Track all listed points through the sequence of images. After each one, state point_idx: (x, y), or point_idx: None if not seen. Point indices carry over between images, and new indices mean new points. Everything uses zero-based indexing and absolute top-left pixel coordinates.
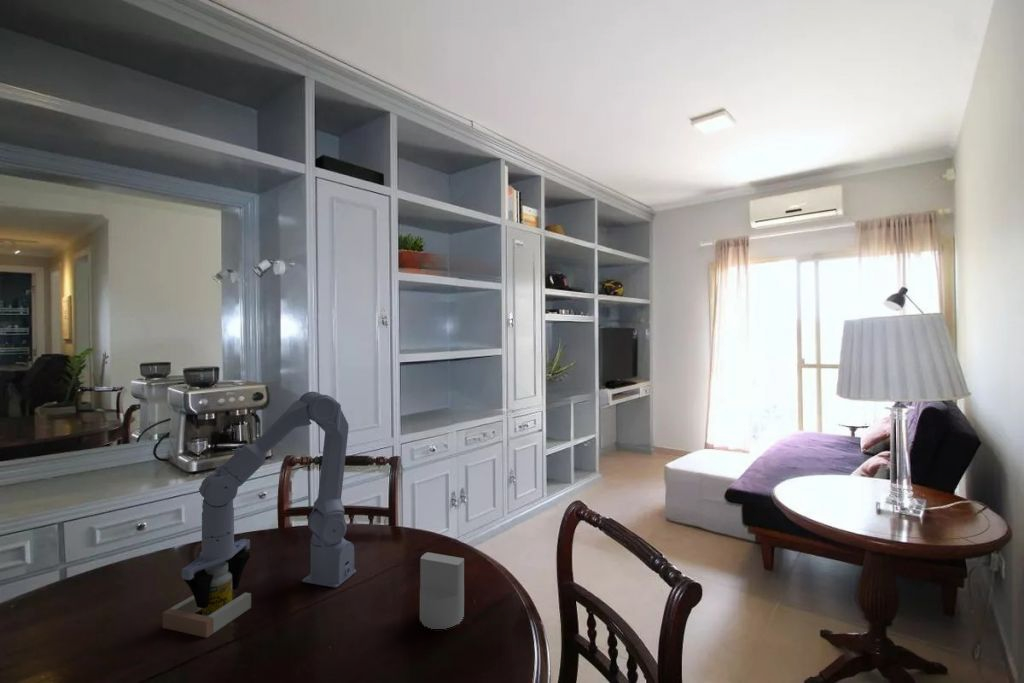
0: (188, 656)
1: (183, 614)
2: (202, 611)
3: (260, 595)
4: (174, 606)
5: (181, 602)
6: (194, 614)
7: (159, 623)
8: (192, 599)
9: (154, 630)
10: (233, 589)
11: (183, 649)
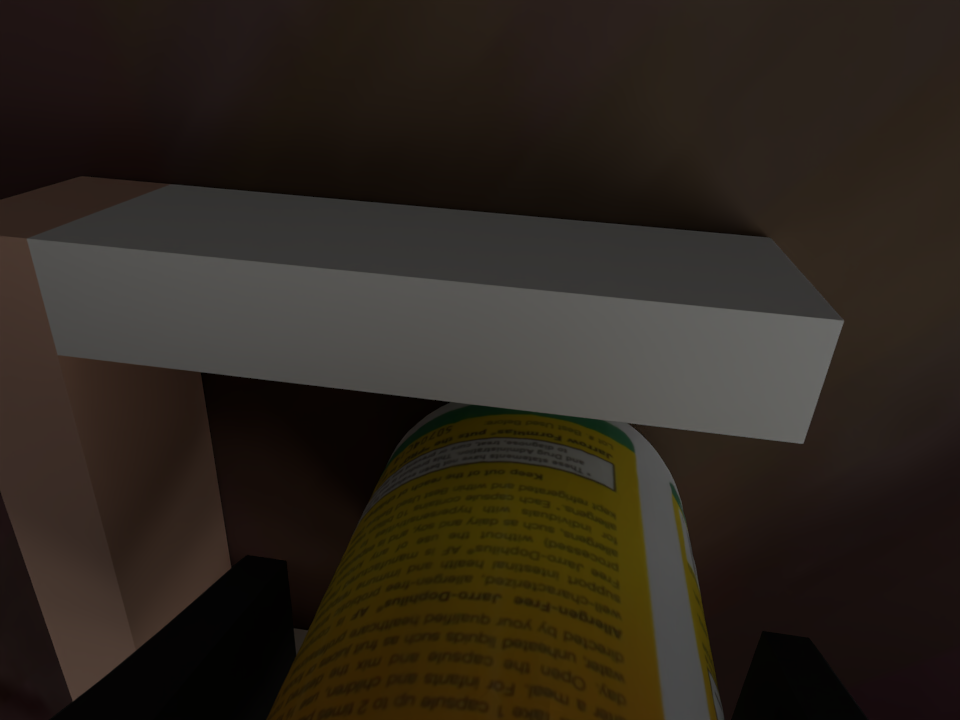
0: (9, 665)
1: (51, 532)
2: (387, 464)
3: (884, 707)
4: (88, 265)
5: (216, 272)
6: (116, 637)
7: (112, 35)
8: (345, 376)
9: (10, 121)
10: (739, 704)
11: (26, 596)
